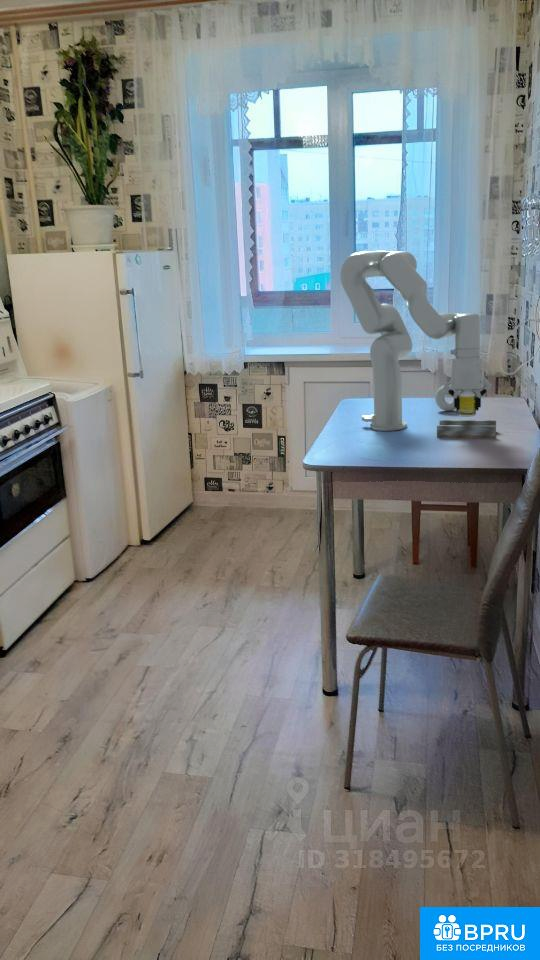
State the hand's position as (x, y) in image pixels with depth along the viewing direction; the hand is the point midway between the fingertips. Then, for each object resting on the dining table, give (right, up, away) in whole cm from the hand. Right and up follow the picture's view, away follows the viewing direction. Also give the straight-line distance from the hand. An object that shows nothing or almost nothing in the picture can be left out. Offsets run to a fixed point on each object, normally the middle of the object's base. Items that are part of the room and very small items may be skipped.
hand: (467, 409), depth 247 cm
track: (0, -8, +3) cm, 8 cm away
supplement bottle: (0, -2, +1) cm, 2 cm away
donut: (+3, +3, +38) cm, 38 cm away
